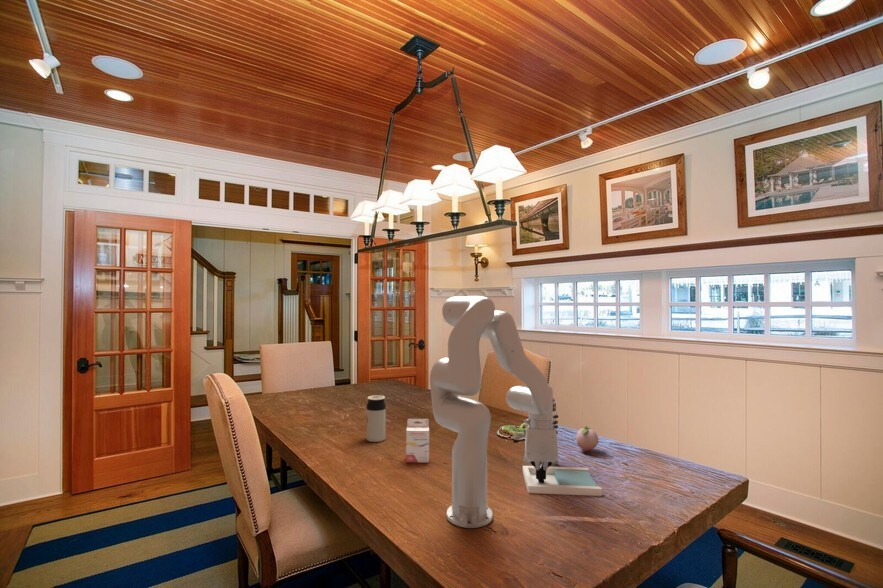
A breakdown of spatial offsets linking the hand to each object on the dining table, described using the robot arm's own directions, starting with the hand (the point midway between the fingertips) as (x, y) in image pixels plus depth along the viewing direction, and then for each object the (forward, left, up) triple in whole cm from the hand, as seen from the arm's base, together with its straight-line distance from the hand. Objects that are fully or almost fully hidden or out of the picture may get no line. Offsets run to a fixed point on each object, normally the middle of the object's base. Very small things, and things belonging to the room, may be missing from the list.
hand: (540, 481), depth 136 cm
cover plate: (0, -11, 0) cm, 11 cm away
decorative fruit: (+33, -23, -2) cm, 40 cm away
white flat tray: (0, -7, -1) cm, 7 cm away
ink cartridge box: (+18, +42, -2) cm, 46 cm away
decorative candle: (+15, -4, -2) cm, 16 cm away
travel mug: (+40, +63, -2) cm, 75 cm away
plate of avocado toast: (+53, +2, -2) cm, 53 cm away
